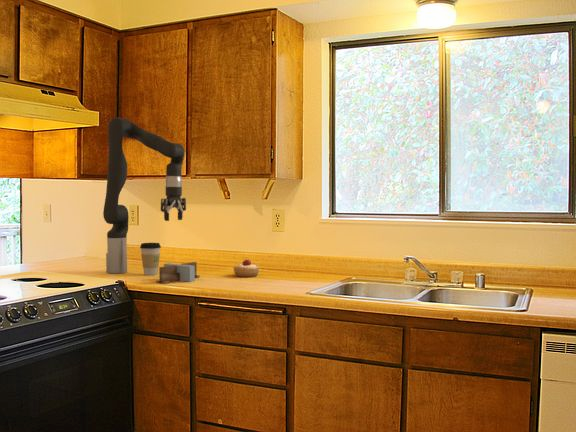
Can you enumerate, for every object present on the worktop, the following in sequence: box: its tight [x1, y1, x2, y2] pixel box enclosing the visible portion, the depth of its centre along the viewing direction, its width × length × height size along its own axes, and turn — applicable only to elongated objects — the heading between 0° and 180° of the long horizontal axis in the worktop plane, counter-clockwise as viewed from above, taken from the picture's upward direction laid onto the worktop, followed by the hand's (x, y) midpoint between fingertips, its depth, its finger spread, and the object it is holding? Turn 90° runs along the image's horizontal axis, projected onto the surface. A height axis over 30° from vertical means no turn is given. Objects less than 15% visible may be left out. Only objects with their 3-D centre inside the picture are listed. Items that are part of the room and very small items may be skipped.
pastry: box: [233, 257, 260, 278], centre depth 294 cm, size 12×12×9 cm
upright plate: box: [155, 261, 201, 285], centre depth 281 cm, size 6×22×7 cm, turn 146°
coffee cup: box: [139, 242, 162, 277], centre depth 298 cm, size 10×10×15 cm
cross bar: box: [163, 262, 196, 283], centre depth 281 cm, size 16×3×7 cm, turn 56°
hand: (173, 220), depth 292 cm, fingers open, 8 cm apart
